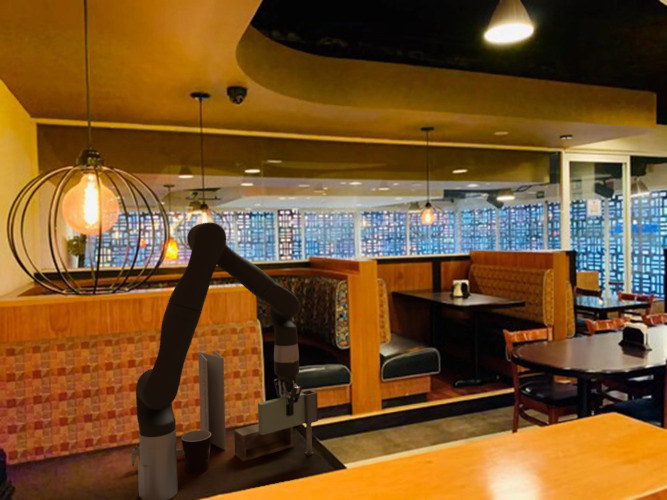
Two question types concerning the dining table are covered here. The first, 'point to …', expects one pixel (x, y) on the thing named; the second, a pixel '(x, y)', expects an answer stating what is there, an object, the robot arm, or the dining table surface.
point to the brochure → (212, 397)
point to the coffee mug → (196, 451)
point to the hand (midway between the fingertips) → (287, 414)
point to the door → (275, 413)
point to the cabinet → (265, 441)
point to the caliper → (137, 453)
